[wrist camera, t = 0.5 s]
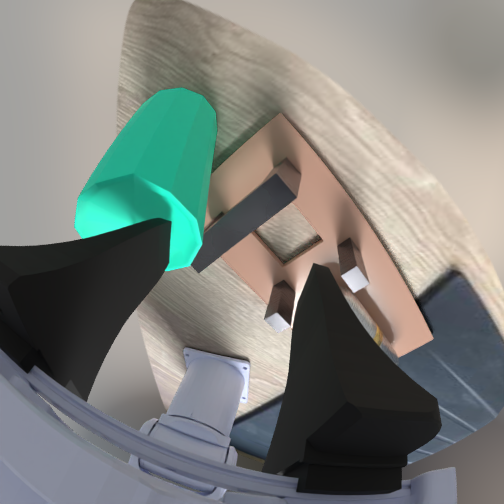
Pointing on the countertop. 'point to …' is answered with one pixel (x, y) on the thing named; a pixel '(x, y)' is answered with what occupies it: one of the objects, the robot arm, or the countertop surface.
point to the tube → (370, 324)
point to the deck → (325, 224)
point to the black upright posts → (254, 215)
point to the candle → (156, 173)
